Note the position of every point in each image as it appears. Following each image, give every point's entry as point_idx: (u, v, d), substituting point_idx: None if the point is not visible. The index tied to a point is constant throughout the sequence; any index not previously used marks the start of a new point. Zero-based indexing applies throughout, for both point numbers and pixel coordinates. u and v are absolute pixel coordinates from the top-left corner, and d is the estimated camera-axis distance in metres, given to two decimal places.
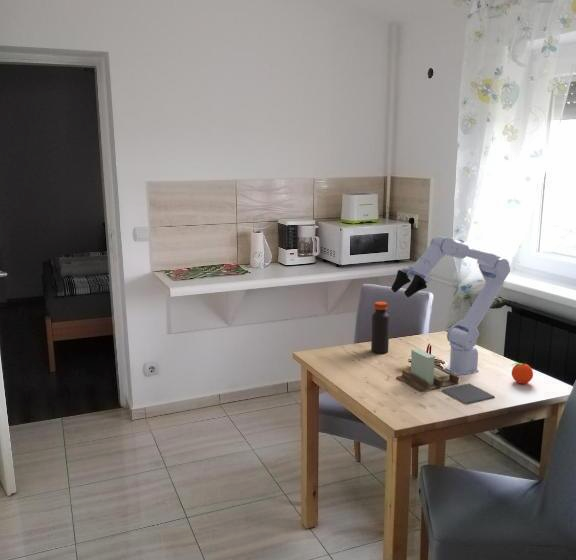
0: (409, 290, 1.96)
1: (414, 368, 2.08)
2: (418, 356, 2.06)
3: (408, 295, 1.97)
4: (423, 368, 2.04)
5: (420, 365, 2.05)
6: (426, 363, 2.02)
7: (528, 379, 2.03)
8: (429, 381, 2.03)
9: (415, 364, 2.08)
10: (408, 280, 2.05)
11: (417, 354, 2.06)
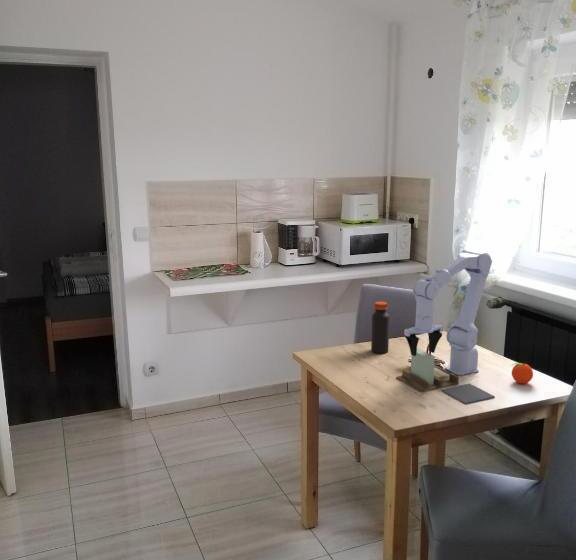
0: None
1: (414, 368, 2.08)
2: (418, 356, 2.06)
3: None
4: (423, 368, 2.04)
5: (420, 365, 2.05)
6: (426, 363, 2.02)
7: (528, 379, 2.03)
8: (429, 381, 2.03)
9: (415, 364, 2.08)
10: None
11: (417, 354, 2.06)
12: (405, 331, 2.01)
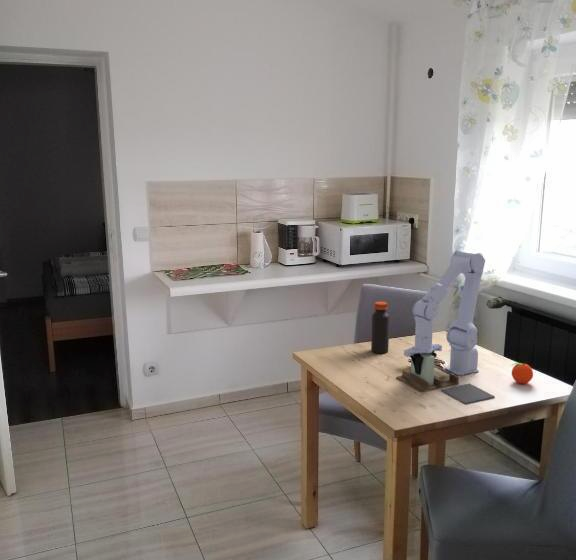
0: None
1: (414, 368, 2.08)
2: None
3: None
4: (423, 368, 2.04)
5: None
6: (426, 363, 2.02)
7: (528, 379, 2.03)
8: (429, 381, 2.03)
9: None
10: None
11: None
12: (405, 351, 2.03)
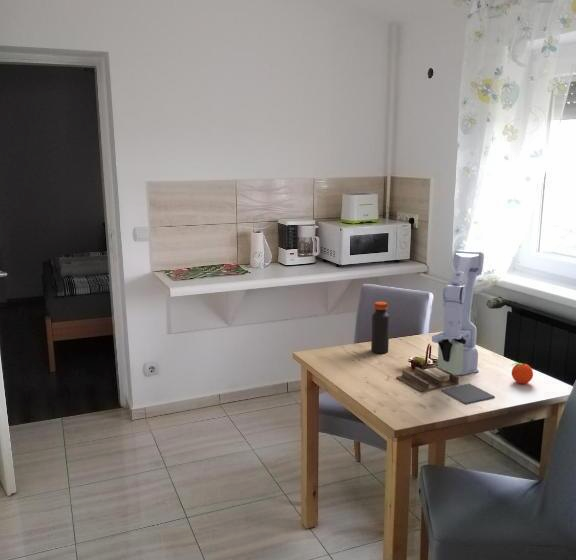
0: None
1: (442, 356, 2.01)
2: None
3: None
4: (451, 356, 1.96)
5: None
6: (455, 351, 1.94)
7: (528, 379, 2.03)
8: (458, 370, 1.96)
9: None
10: None
11: None
12: (433, 337, 1.95)
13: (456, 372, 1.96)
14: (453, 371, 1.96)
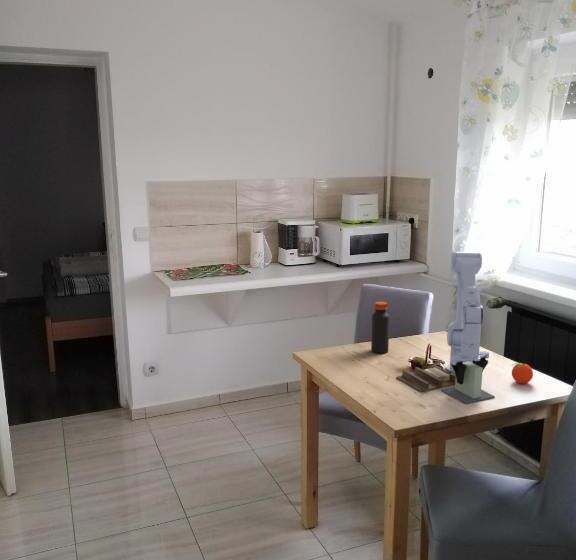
0: None
1: None
2: None
3: None
4: (469, 380, 1.94)
5: (466, 377, 1.95)
6: (474, 375, 1.92)
7: (528, 379, 2.03)
8: (476, 394, 1.93)
9: None
10: None
11: None
12: (451, 359, 1.92)
13: (475, 396, 1.93)
14: (471, 395, 1.93)
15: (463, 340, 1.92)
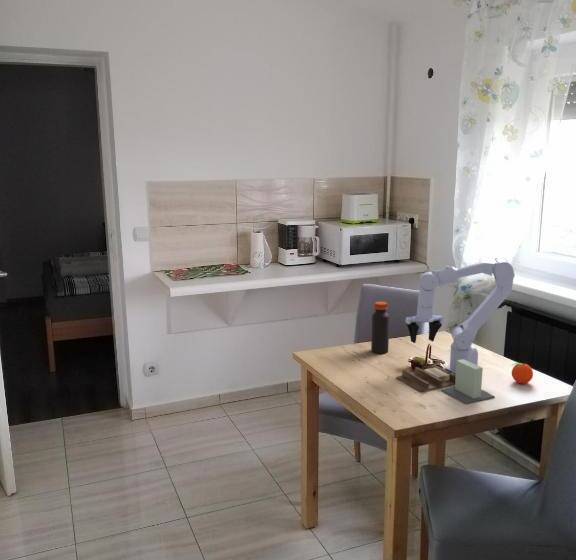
0: None
1: (459, 379, 1.98)
2: (464, 368, 1.95)
3: None
4: (469, 380, 1.94)
5: (466, 377, 1.95)
6: (474, 375, 1.92)
7: (528, 379, 2.03)
8: (476, 394, 1.93)
9: (460, 375, 1.98)
10: None
11: (463, 365, 1.96)
12: (406, 319, 2.14)
13: (475, 396, 1.93)
14: (471, 395, 1.93)
15: None
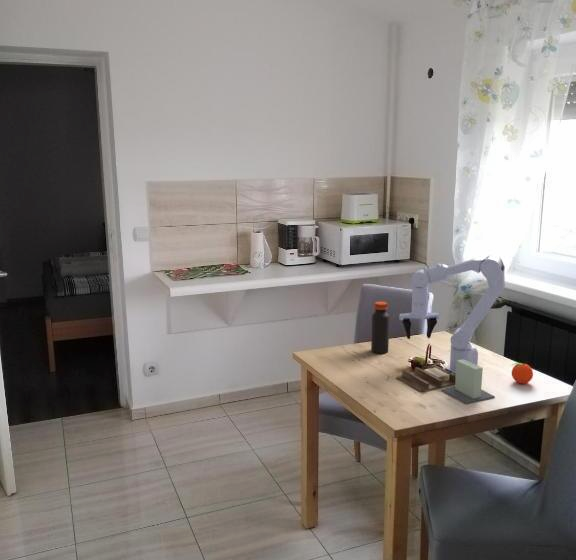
0: None
1: (459, 379, 1.98)
2: (464, 368, 1.95)
3: None
4: (469, 380, 1.94)
5: (466, 377, 1.95)
6: (474, 375, 1.92)
7: (528, 379, 2.03)
8: (476, 394, 1.93)
9: (460, 375, 1.98)
10: None
11: (463, 365, 1.96)
12: (399, 315, 2.21)
13: (475, 396, 1.93)
14: (471, 395, 1.93)
15: None
